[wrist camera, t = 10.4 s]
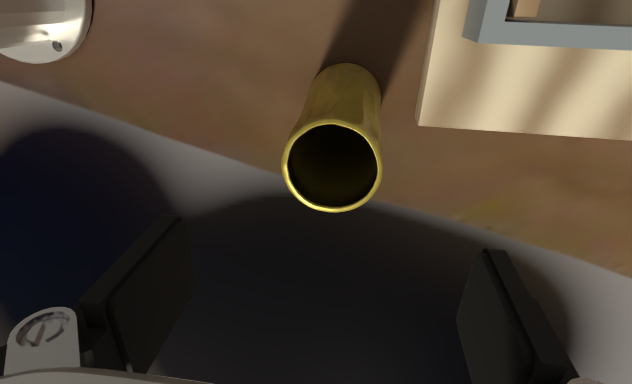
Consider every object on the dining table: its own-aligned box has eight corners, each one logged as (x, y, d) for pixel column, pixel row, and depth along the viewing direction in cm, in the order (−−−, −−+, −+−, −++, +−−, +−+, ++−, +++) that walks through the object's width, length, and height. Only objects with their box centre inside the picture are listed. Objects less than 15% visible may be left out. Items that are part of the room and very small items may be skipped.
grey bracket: (461, 36, 25) (477, 43, 21) (476, -35, 23) (497, -41, 19) (687, 47, 24) (743, 56, 20) (724, -28, 22) (793, -32, 18)
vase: (352, 46, 29) (343, 82, 16) (395, 107, 30) (417, 182, 18) (294, 93, 31) (247, 157, 18) (337, 147, 33) (321, 238, 20)
